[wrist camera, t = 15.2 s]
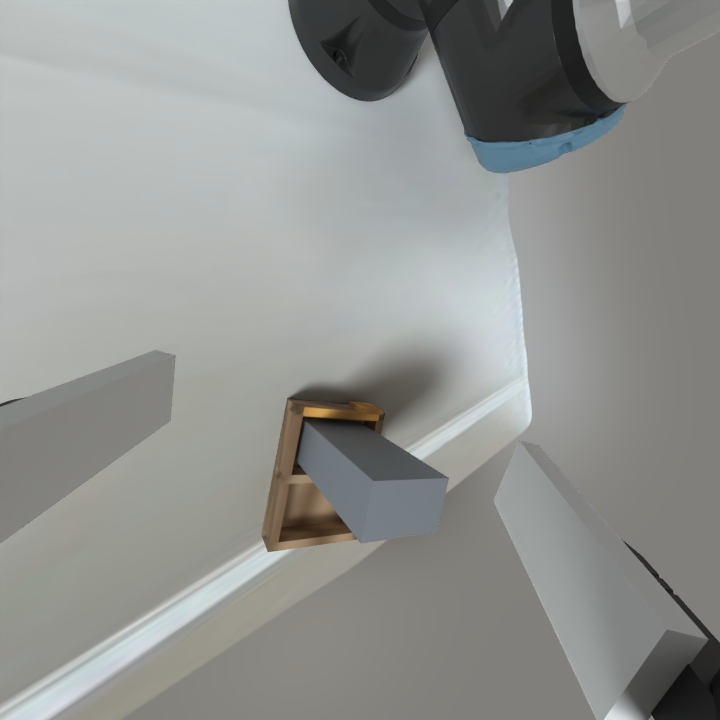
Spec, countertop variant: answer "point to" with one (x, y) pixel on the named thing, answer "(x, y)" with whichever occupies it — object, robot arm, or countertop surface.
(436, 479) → the block
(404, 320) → the countertop surface
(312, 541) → the divided wooden tray
